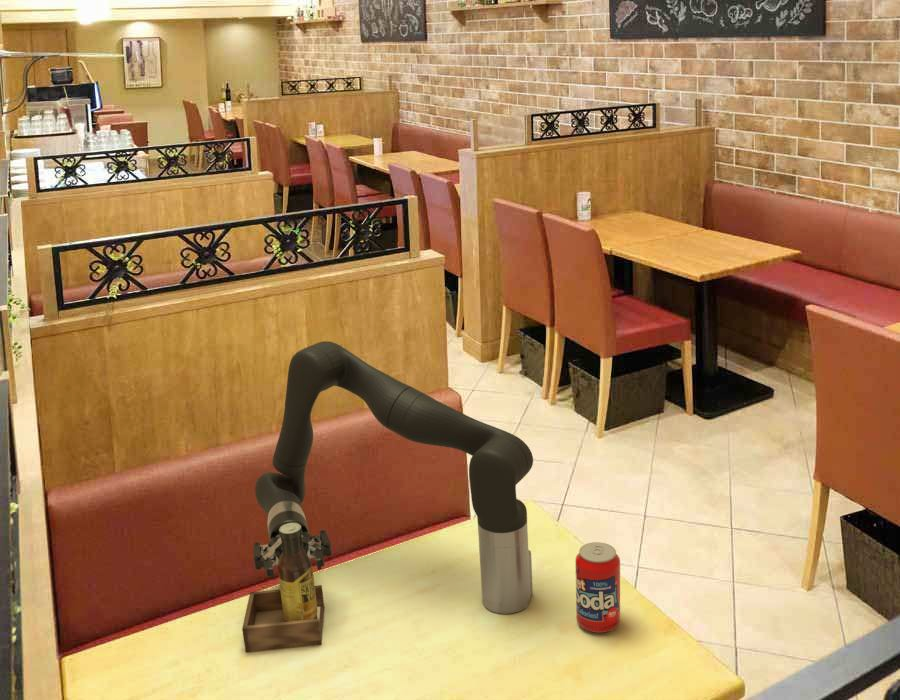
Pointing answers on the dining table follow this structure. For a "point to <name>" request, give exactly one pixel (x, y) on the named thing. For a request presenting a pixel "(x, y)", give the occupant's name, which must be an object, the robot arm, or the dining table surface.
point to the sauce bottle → (296, 576)
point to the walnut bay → (279, 623)
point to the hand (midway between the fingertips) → (295, 569)
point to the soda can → (598, 587)
